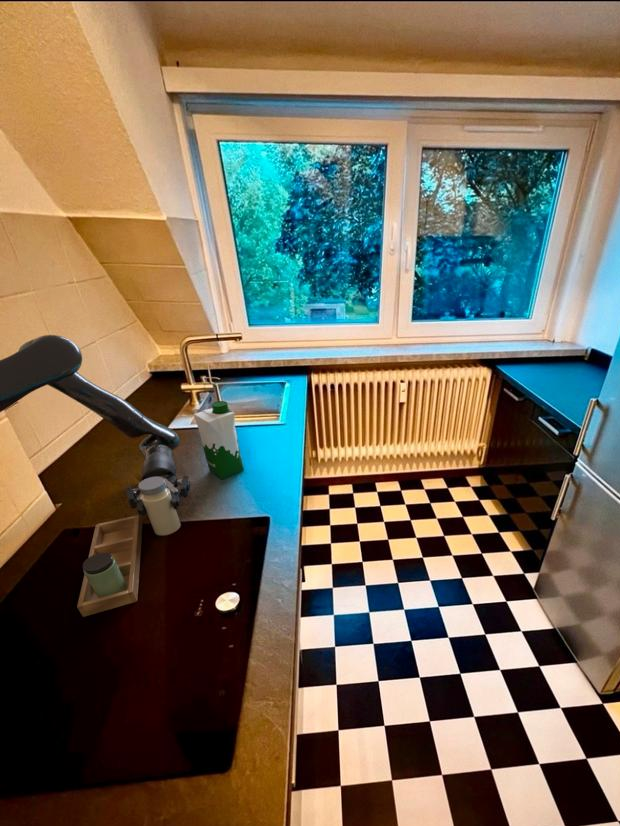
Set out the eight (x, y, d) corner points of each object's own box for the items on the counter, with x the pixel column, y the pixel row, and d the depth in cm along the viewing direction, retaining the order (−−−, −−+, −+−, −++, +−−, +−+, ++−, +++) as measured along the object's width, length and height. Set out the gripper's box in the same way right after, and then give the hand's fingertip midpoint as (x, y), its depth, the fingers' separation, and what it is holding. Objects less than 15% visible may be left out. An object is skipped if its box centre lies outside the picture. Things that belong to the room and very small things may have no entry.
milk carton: (248, 470, 113) (236, 405, 102) (220, 482, 107) (204, 415, 96) (232, 459, 118) (219, 397, 107) (204, 471, 112) (187, 406, 101)
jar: (162, 540, 87) (144, 493, 80) (150, 530, 90) (131, 483, 83) (186, 527, 91) (171, 481, 84) (173, 517, 94) (158, 472, 87)
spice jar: (104, 606, 71) (87, 575, 67) (93, 592, 74) (76, 562, 70) (132, 589, 74) (117, 559, 70) (120, 577, 77) (106, 547, 73)
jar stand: (84, 618, 70) (76, 607, 68) (101, 535, 89) (95, 524, 87) (138, 603, 72) (132, 591, 71) (143, 525, 92) (139, 514, 90)
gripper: (122, 465, 93) (115, 503, 80) (185, 453, 98) (189, 488, 85) (132, 490, 97) (128, 531, 84) (193, 478, 102) (197, 514, 89)
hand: (158, 509), depth 84 cm, fingers closed on jar, 5 cm apart
